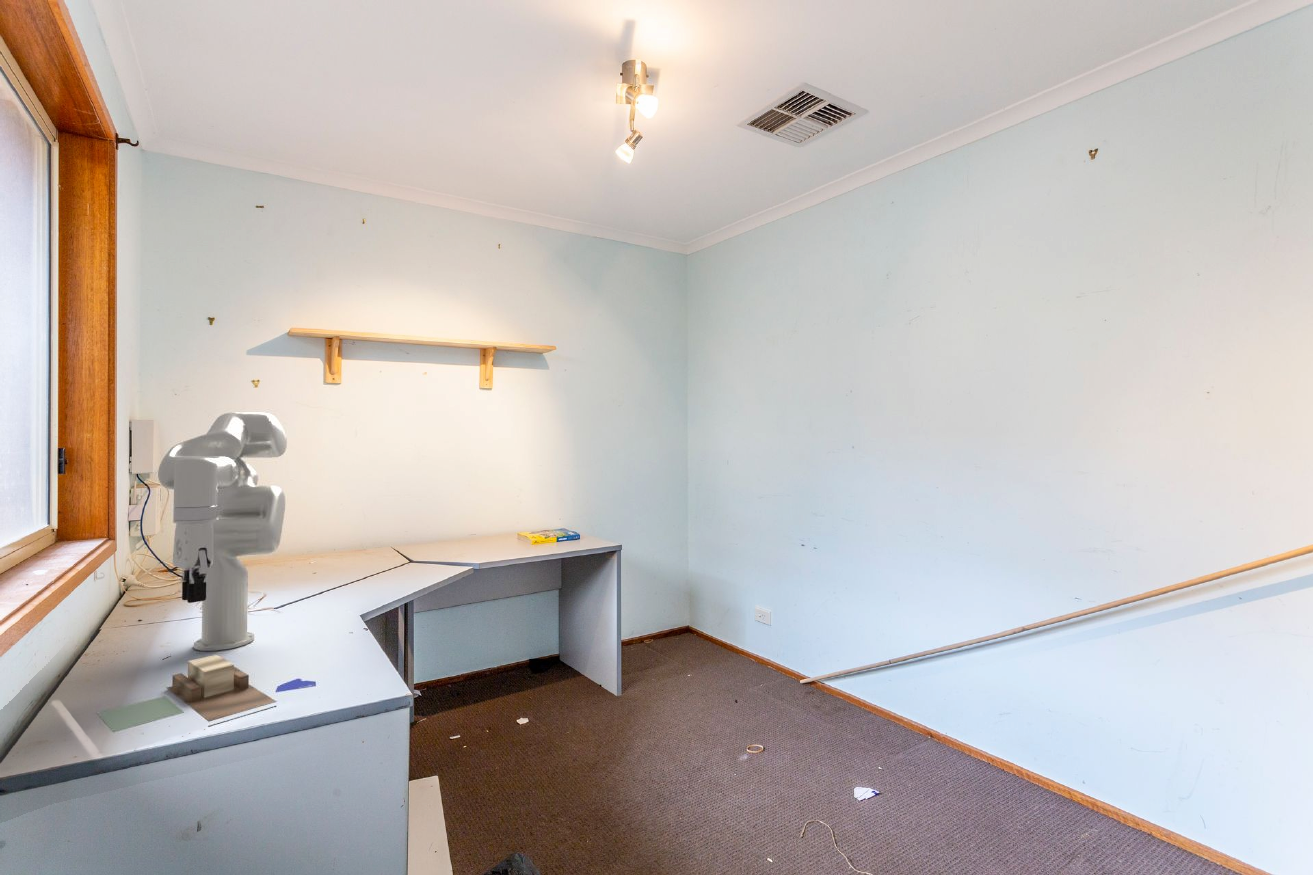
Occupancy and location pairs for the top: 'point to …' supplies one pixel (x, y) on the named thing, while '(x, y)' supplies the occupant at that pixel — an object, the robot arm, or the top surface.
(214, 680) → the block
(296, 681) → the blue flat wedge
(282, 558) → the top surface
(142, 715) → the mat
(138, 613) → the top surface
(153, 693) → the top surface
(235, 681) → the holder
